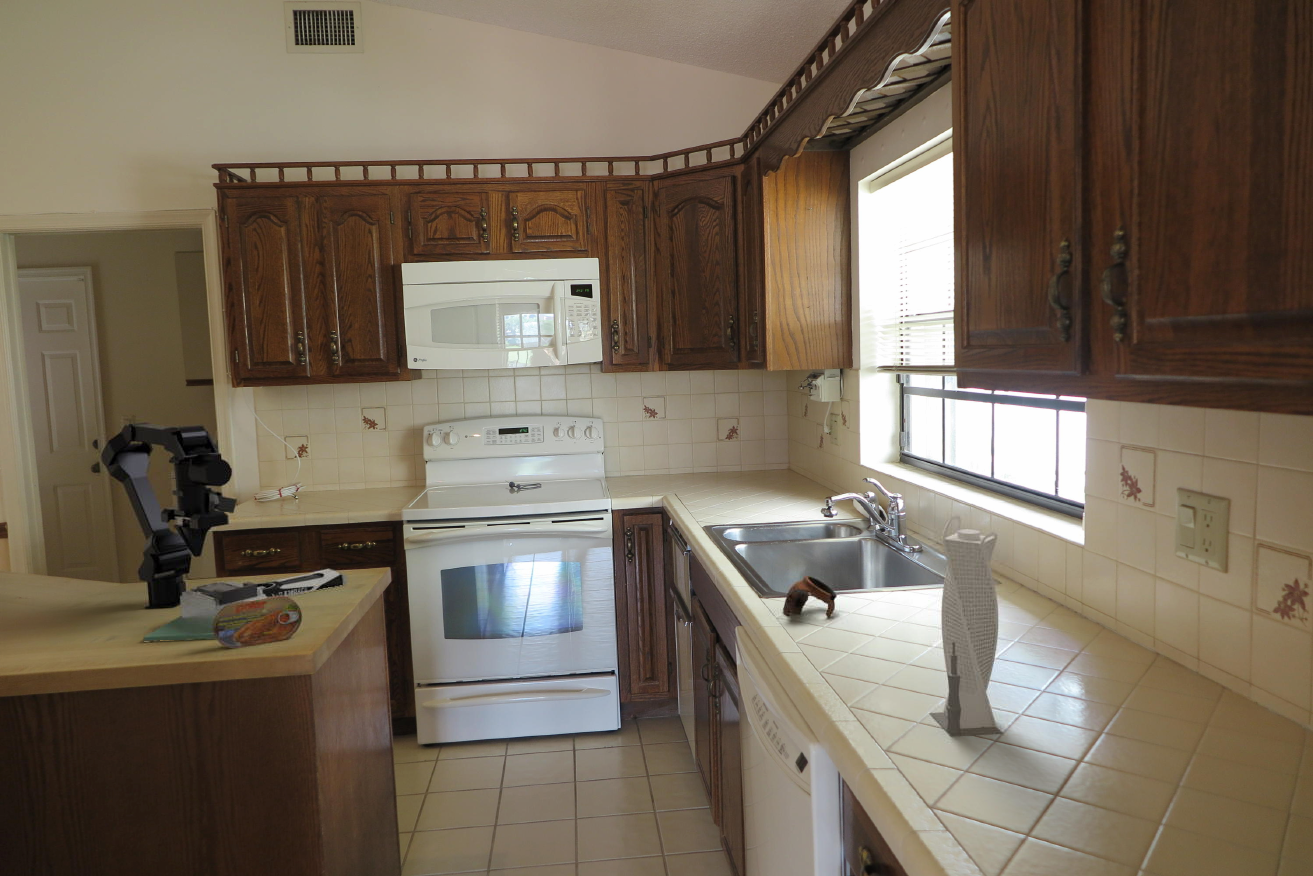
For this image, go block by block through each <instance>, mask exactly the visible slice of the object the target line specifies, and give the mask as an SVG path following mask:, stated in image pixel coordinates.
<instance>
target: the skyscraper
mask: <svg viewBox="0 0 1313 876" xmlns="http://www.w3.org/2000/svg"><path fill="white" fill-rule="evenodd" d="M954 520H956V521H957V522H956V528H955V529H956V530H955V533H954V534H952V535H949V536H947V533H948V530H949V527H950V525H951V524H952V523H953V521H954ZM961 522H962V518H961V516H960V515H954V516H953V517H951V518H950V519H949V520H948V521H947V523H946V524H945V526H944V528H943V531H942V535H941V543H942V546H943V551H944V554H945V560H946V563H947V567H946V570H945V575H944V581H943V582H944V583H943V587H942V597H941V614H940V616H941V621H940V622H941V624H940V625H941V638H942V640H941V641H942V648H943V655H944V656H943V657H944V664H945V669H946V670H945V671H946V674H947V675H946V676H947V681H948V682H947V683H948V684H947V685H948V693H947V696H946V700H945V704H944V707H943V711H941V712H930V713H929V715H930V716H931V717H932V719H934V721H936V722H937V724H938V725H939V726H940V727H941V728H942V729H943V730H944V731H945V732H946V733H947V735H948V736H949V737H967V736H983V735H987V736H988V735H1000V734H1002V735H1003V733H1004V732H1003V731H1002V730H1000V729H999V727H998V726H997V723H996V720H995V716H994V713H993V710H992V706H991V704H990V700H989V697H988V693H987V691H988V686H989V684H990V680H991V676H992V672H993V668H994V663H995V658H996V652H997V645H998V639H999V608H998V607H999V604H998V596H997V590H996V585H995V581H994V576H993V572H992V568H991V564H990V563H991V559H992V555H993V552H994V549H995V547H996V546H995V545H996V543H997V540H998V534H997V532H995V531H992V532H990V533H988V534H986V535H981V532H980V530H977V529H966V528H965V529H964V528H963V529H960V528H961Z"/></svg>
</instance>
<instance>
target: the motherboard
mask: <svg viewBox="0 0 1313 876" xmlns="http://www.w3.org/2000/svg"><path fill="white" fill-rule="evenodd" d="M187 639H205V640H217V639H216V638H215V636H214V633H213V631H212V630H209V629H206V628H203V627H200V626H198V625H195V624H192V623H189V622H187V621H184V620H182V615H180V616H179V617H177V618H175V619H173V620H171V621H170V622H168V623H166V624H165V625H162V626H160V627H159V628H157V629H156V630H154V631H152V632H150V633H148V634H146V635H145V636H143V642H144V641H155V640H156V641H160V640H184V641H188V640H187Z"/></svg>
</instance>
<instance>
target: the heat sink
mask: <svg viewBox="0 0 1313 876" xmlns="http://www.w3.org/2000/svg"><path fill="white" fill-rule="evenodd" d="M217 583H218V584H222V585H227V586H231V587H236V588H235V589H230V590H222V589H215V590H213V592H214V596H213V595H209V594H205V593H201V592H197V588H195V587H194V588H191V589H190V590H186V591H185V592H182V594H183V595H182V596H180V602H181V604H180V612H181V614H180V615H181V616H182V620H184V621H187V622H189V623H192V624H195V625H198V626H200V627H203V628H206V629H209V630H212V631H213V622H214V620H215V617H216V616H217V614H218V612H219V611H220V610H221V609H222V608H223V607H225V606H227V605H228V604H231V603H234V602H240V601H247V600H253V599H260V598H266V595H265V594H263V593H262V589H258V588H257V584H258V583H253V582H249V581H247V582H243V583H240V582H239V583H238V582H235V581H232V580H231V581H226V582H222V581H221V582H217Z"/></svg>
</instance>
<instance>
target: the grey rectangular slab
mask: <svg viewBox="0 0 1313 876" xmlns="http://www.w3.org/2000/svg"><path fill="white" fill-rule="evenodd" d="M218 583H219V582H213V583H212V582H211V583H208V584H204V585H203V584H202V585H200V586H199V585H198V586H196V589H197V592H201V593H205V594H209V595H213V596H214V592H213V590H215V589H222V590H230V589H235V588H236V587H231V586H227V585H225V584H224V585H222V584H218Z"/></svg>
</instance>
